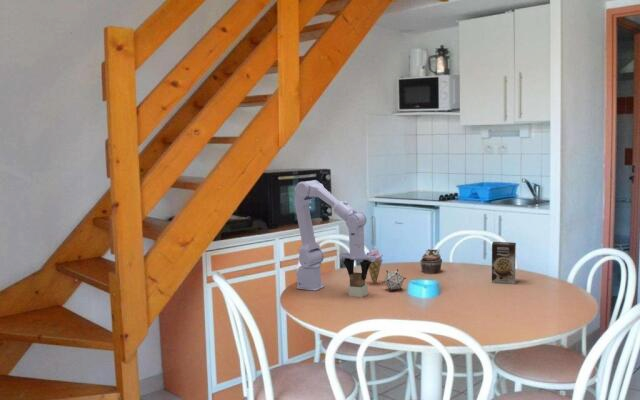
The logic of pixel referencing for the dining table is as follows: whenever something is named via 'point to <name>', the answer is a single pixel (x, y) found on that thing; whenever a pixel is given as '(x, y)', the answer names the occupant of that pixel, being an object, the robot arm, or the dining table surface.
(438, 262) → the cupcake
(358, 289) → the base block
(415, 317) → the dining table surface
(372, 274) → the ice cream cone
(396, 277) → the game die
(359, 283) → the walnut cube
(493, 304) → the dining table surface
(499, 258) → the coffee box
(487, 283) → the dining table surface
